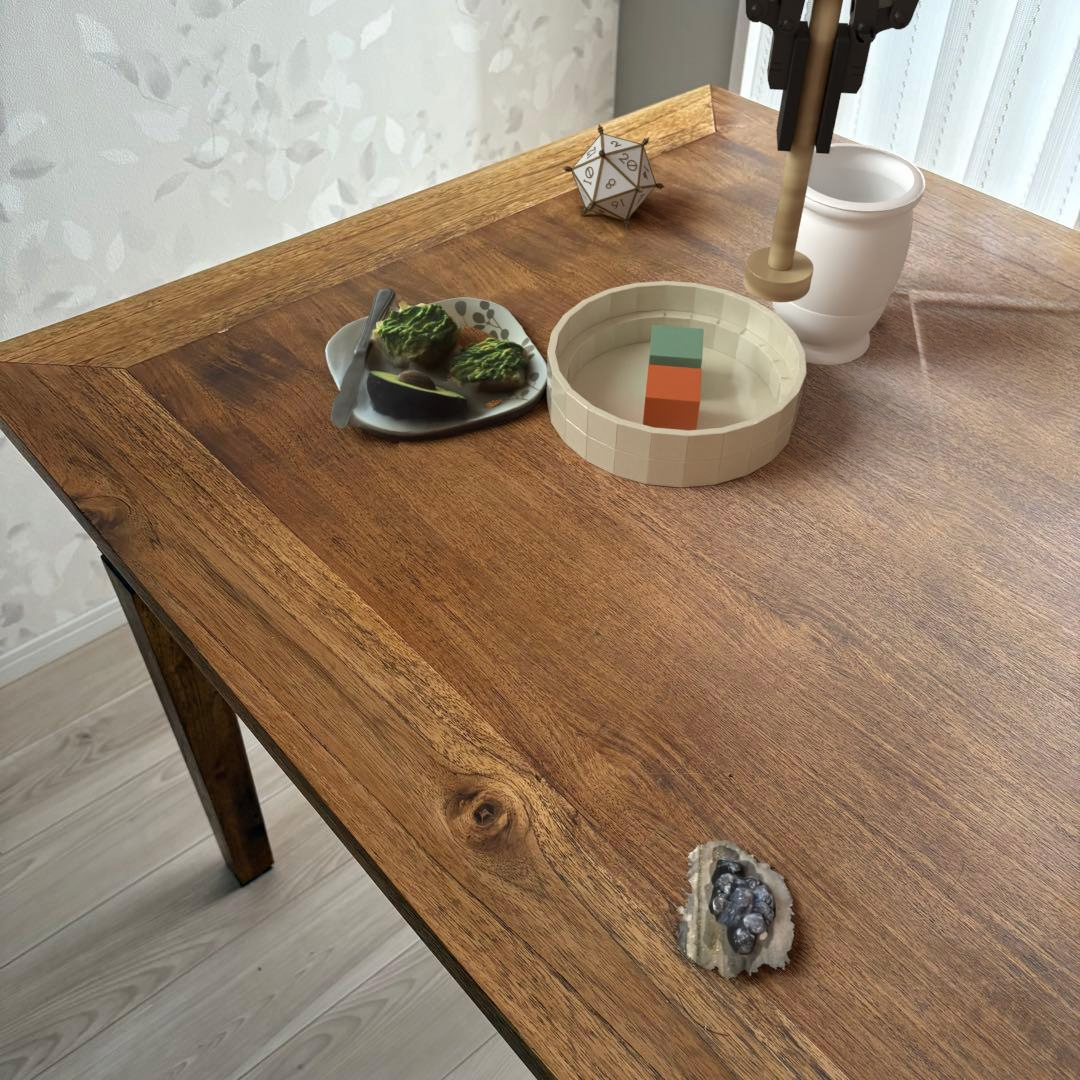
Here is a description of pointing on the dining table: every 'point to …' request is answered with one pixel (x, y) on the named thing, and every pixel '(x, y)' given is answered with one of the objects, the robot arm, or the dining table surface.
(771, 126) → the dining table surface
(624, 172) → the game die
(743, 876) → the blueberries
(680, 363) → the sage block
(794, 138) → the stand
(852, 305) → the jar
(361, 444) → the dining table surface
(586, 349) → the bowl
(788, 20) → the robot arm
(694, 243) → the dining table surface
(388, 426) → the salad plate
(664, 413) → the rust block
